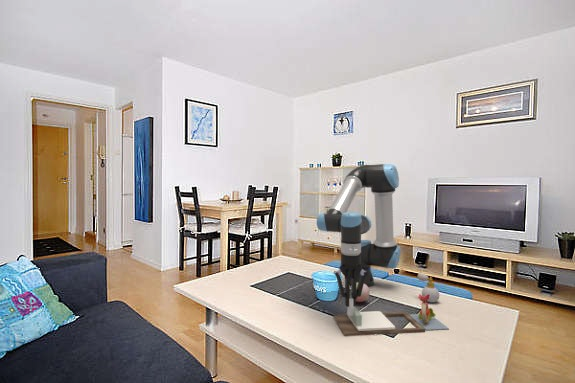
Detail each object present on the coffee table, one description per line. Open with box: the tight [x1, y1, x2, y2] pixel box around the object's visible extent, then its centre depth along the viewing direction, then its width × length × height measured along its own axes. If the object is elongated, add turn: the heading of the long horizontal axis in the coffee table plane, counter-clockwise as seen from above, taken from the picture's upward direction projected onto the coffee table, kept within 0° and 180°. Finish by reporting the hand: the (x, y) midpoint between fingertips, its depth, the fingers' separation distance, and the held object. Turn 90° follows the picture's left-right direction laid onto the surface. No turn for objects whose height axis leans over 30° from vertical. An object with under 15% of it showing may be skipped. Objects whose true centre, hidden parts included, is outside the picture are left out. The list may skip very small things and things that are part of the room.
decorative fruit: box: [356, 283, 370, 303], centre depth 139 cm, size 9×8×10 cm
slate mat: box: [408, 313, 450, 332], centre depth 120 cm, size 13×9×1 cm
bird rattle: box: [417, 294, 436, 324], centre depth 119 cm, size 6×11×9 cm
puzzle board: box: [333, 311, 426, 337], centre depth 118 cm, size 15×30×1 cm, turn 96°
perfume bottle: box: [417, 272, 440, 304], centre depth 141 cm, size 8×10×12 cm
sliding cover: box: [346, 306, 396, 331], centre depth 117 cm, size 14×14×5 cm
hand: (350, 314), depth 117 cm, fingers closed
